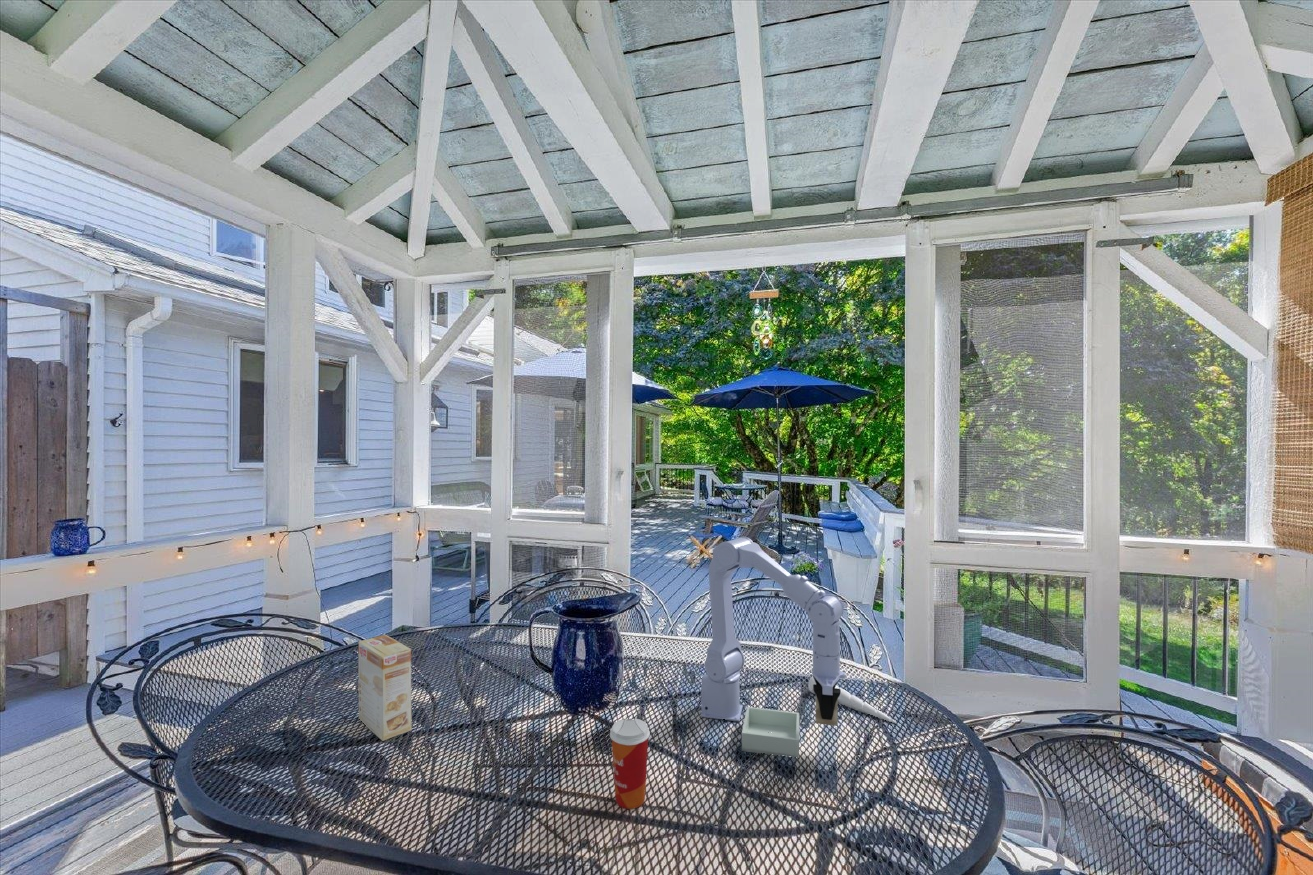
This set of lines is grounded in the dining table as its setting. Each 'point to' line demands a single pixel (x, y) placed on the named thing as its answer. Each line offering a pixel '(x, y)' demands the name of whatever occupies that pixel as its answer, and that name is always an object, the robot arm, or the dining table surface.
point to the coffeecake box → (384, 686)
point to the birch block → (825, 721)
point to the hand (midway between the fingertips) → (826, 713)
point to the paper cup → (630, 761)
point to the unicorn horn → (854, 702)
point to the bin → (770, 721)
